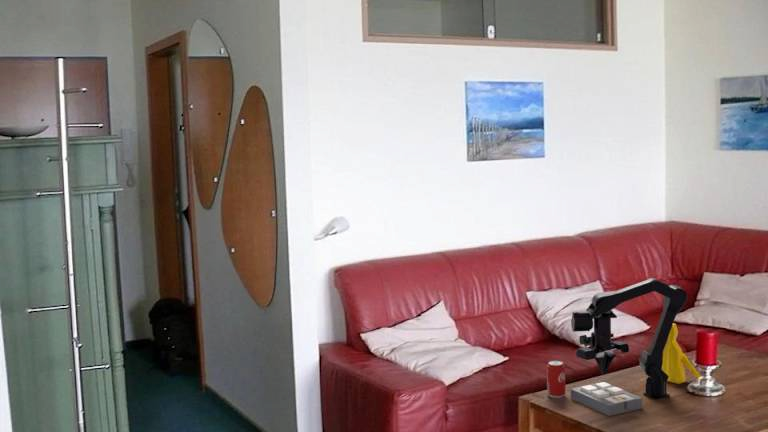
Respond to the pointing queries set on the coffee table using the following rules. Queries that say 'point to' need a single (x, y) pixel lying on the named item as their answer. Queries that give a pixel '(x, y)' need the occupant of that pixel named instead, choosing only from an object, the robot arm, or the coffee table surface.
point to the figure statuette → (675, 360)
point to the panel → (608, 401)
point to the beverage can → (555, 379)
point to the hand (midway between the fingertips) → (603, 374)
